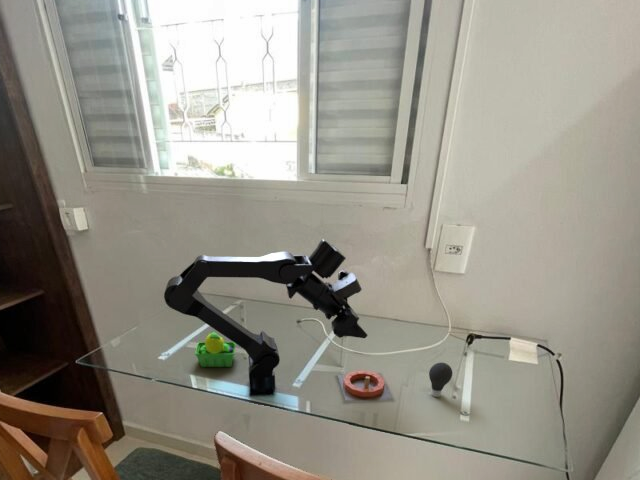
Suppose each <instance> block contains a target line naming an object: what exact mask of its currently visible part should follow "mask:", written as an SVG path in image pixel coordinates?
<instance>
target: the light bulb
mask: <svg viewBox="0 0 640 480" xmlns="http://www.w3.org/2000/svg"><path fill="white" fill-rule="evenodd" d="M428 377H429V381H430V383H431V384H430V385H431V390H430V395H431V396H432V397H434V398H439V397H440V396H441V394H442V391H443V389H444V387H445V386H446V385H447V384H448V383H449V382H450V381H451V380H452V378H453V369H452V367H451V366H450V365H449V364H448V363H446V362H437V363H435V364H433V365H432V366H431V368H429V372H428Z"/></svg>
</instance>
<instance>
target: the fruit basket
mask: <svg viewBox="0 0 640 480" xmlns="http://www.w3.org/2000/svg"><path fill="white" fill-rule="evenodd" d="M236 345H237V344H236V343H234V342H233V341H224V338H223V337H221V335H218V333H216V332H211V333H209V334H207V336H206V338H205V341H200V342H197V345H196V348H195V352H194V355H195V357H196V358H197V360H198V363H199V364H200V367H201V368H214V367H215V368H225V367H226V368H231V367H232V366H233V360H234V356H235V351H236Z"/></svg>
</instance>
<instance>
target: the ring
mask: <svg viewBox="0 0 640 480" xmlns="http://www.w3.org/2000/svg"><path fill="white" fill-rule="evenodd" d="M378 374H379V373H377V372H373V371H368V370H354V371H351V372H349V373H347V374H345V375H346V376H345V378H344V381H343V384H344V387H345V390H347V391H348V392H350V393H351V394H353V395H357V396H361V397H373V396H376V395H378V394H380V393H382V391H383V389H384V386H385V384H386V381H385V380H384V378H383V376H382V375H381V376H382V377H381V376H379V375H378ZM366 376H369V377H370V380H372V381H374V382H375V383H377V386H376V387H373V388H367V389H363V388H359V387H356V386H354V385H353V384H351V381H352V380H355V379H359V378H365V377H366Z"/></svg>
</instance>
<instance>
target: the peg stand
mask: <svg viewBox="0 0 640 480" xmlns="http://www.w3.org/2000/svg"><path fill="white" fill-rule="evenodd" d="M377 374H378V375H379V376H381V377H382V378H383V376H382V374H381V373H377ZM346 375H347V374H337V377H338V381H339V384H340V387H341V391H342V393H343V396H344V400H345V401H346V402H349V401H350V402H353V401H377V400H378V401H379V400H393V397H392V395H391V393H390V391H389V389H388V386H387V384H386V383H385V386H384V389H383V391H382V393H380V394H378V395H376V396H373V397H361V396H357V395H353V394H351V393H350V392H348V391H347V390H345V387H344V384H343V381H344V378H345V376H346ZM351 384H353V385H354V386H356V387H359V388H363V389H367V388H373V387H376V386H377V383H375V382H374V381H372V380H370V377H369V376H366V377H365V378H359V379H355V380H352V381H351Z"/></svg>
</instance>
